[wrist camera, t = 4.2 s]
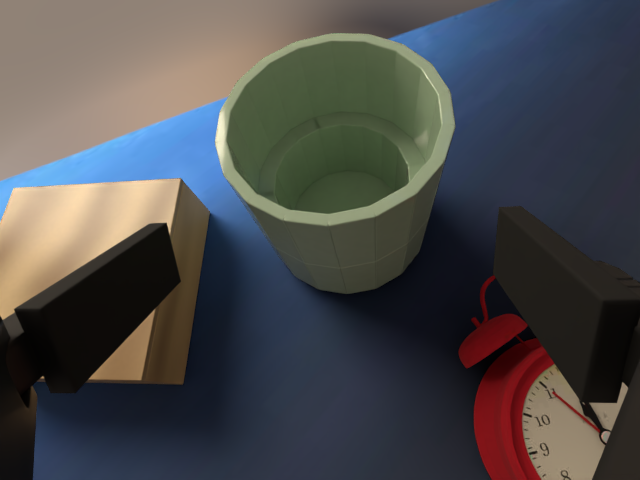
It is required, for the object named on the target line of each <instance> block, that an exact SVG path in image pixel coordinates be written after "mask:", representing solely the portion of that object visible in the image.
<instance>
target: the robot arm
mask: <svg viewBox="0 0 640 480" xmlns="http://www.w3.org/2000/svg"><path fill="white" fill-rule="evenodd" d="M493 275H494V276H495V278H496V279H497V281H498V282H499V284H500V285H501V286H502V288H503V289H504V291H505V292H506V294H507V295H508V297H509V298H510V300H511V301H512V302H513V304H514V305H515V307H516V308H517V310H518V311H519V313H520V314H521V316H522V317H523V318H524V320H525V321H526V323H527V324H528V326H529V327H530V329H531V330H532V332H533V333H534V334H535V336H536V337H537V339H538V340H539V342H540V343H541V345H542V346H543V348H544V349H545V350H546V352H547V353H548V355H549V356H550V358H551V359H552V361H553V362H554V364H555V365H556V366H557V368H558V369H559V371H560V372H561V374H562V375H563V377H564V378H565V380H566V381H567V382H568V384H569V385H570V387H571V388H572V390H573V391H574V393H575V394H576V396H577V397H578V398H579V400H580V401H581V403H617V401H618V398H619V394H620V390H621V386H622V382H623V383H624V384H625V385H626V386H627V387H628V390H627V393H626V395H625V398H624V400H623V403H622V405H621V408H620V410H619V413H618V415H617V418H616V420H615V423H614V425H613V428H612V430H611V433H610V435H609V438H608V440H607V443H606V445H605V448H604V450H603V453H602V455H601V458H600V460H599V463H598V465H597V468H596V470H595V473H594V475H593V478H592V480H640V283H639V282H638V281H636V280H633V278H632V277H631V276H629V275H628V274H626V273H625V272H624V271H622V270H621V269H619V268H617V267H614V266H612V265H609V264H607V263H604V262H602V261H593V260H591V259H590V258H589V257H587V256H586V255H585V254H583V253H582V252H581V251H579V250H578V249H577V248H575V247H574V246H573V245H571V244H570V243H569V242H568V241H566V240H565V239H564V238H562V237H561V236H560V235H558V234H557V233H556V232H554V231H553V230H552V229H550V228H549V227H548V226H546V225H545V224H544V223H543V222H541V221H540V220H539V219H537V218H536V217H535V216H533V215H532V214H531V213H529V212H528V211H527V210H525V209H524V208H523V207H521V206H515V207H499V214H498V225H497V235H496V246H495V257H494V268H493ZM180 282H181V279H180V275H179V271H178V267H177V263H176V259H175V255H174V251H173V247H172V243H171V238H170V234H169V230H168V226H167V223H149V224H148V225H146V226H145V227H143V228H141V229H140V230H138V231H137V232H135V233H134V234H132V235H130V236H129V237H127V238H126V239H124V240H122V241H121V242H119V243H118V244H116V245H115V246H113V247H111V248H110V249H108V250H107V251H105V252H103V253H102V254H100V255H99V256H97V257H96V258H94V259H92V260H91V261H89V262H88V263H86V264H84V265H83V266H81V267H80V268H78V269H76V270H75V271H73V272H72V273H70V274H69V275H67V276H65V277H64V278H62V279H61V280H59V281H57V282H56V283H54V284H53V285H51V286H50V287H48V288H46V289H45V290H43V291H42V292H40V293H38V294H37V295H35V296H34V297H32V298H31V299H29V300H27V301H26V302H24V303H23V304H21V305H19V306H18V307H16V308H15V309H14V311H15V312H14V313H13V314H11V315H10V316H8V317H7V318H5V319H3V320H2V318H1V316H0V480H33V465H34V447H35V429H36V411H37V395H36V392H35V390H34V388H33V386H32V385H33V384H34V383H36V382H37V381H38V380H39V379H40V378H41V377H42V376H43V377H44V379H45V381H46V384H47V386H48V388H49V390H50V393H76V392H77V391H78V390H79V389H80V388H81V387H82V386H83V384H84V383H85V382H86V381H87V380H88V379H89V378H90V377H91V376H92V375H93V374H94V373H95V372H96V371H97V370H98V369H99V368H100V367H101V365H102V364H103V363H104V362H105V361H106V360H107V359H108V358H109V357H110V356H111V355H112V354H113V353H114V352H115V351H116V350H117V349H118V348H119V346H120V345H121V344H122V343H123V342H124V341H125V340H126V339H127V338H128V337H129V336H130V335H131V334H132V333H133V332H134V331H135V330H136V329H137V327H138V326H139V325H140V324H141V323H142V322H143V321H144V320H145V319H146V318H147V317H148V316H149V315H150V314H151V313H152V312H153V311H154V310H155V308H156V307H157V306H158V305H159V304H160V303H161V302H162V301H163V300H164V299H165V298H166V297H167V296H168V295H169V294H170V293H171V292H172V291H173V289H174V288H175V287H176V286H177V285H178V284H179V283H180Z"/></svg>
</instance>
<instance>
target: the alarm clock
mask: <svg viewBox="0 0 640 480" xmlns="http://www.w3.org/2000/svg"><path fill="white" fill-rule="evenodd" d="M495 279H496V278H495V276H494V275H493V276H491V277H490V278H489V279H488V280H486V281H485V283H484V284H483V286H482V288H481V291H480V302H481V307H482V311H483V314H484V321H483V322H482V324H480V323H479V321H478V320H477V319H476V318H475V317H474V318H472V319H471V321H472V322H473V323H474V325H475V326H476V327H477V329H476V330H474V331H473V332H472V333H471V334H470V335H469V336H468V337H467V338H466V339H465V340H464V341H463V342H462V344H461V346H460V347H459V352H458V353H459V358H460V360H461V362H462V364H463V365H464V366H465V367H466V369H467V368H469V367H471V366H473V365H474V364H476V363H478V362H479V361H481V360H482V359H484V358H485V357H487V356H488V355H490V354H491V353H492V352H494V351H495V350H497V349H498V348H500V347H501V346H502V345H504V344H505V343H507V342H508V341H509V340H511V339H512V338H513V337H515V336H516V337H517V338H518V339H519V341H520V342H521V343H519V344H517V345H514V346H513V347H511V348H510V349H508V350H507V351H505V352H504V353H503V354H501V355H500V356H499V357H498V358H497V359H496V360H495V361H494V362H493V363H492V364H491V366H490V367H489V368H488V370H487V371H486V373H485V374H484V376H483V378H482V380H481V382H480V385H479V388H478V391H477V394H476V399H475V405H474V431H475V437H476V442H477V446H478V449H479V453H480V456H481V458H482V461H483V463H484V466H485V468H486V470H487V472H488V474H489V476H490V478H491V479H492V480H592V478H593V475H594V473H595V470H596V468H597V465H598V463H599V460H600V458H601V455H602V453H603V450H604V448H605V445H606V443H607V440H608V438H609V435H610V433H611V430H612V428H613V425H614V423H615V420H616V418H617V415H618V413H619V410H620V408H621V405H622V403H623V400H624V398H625V395H626V393H627V390H628V387H627V386H626V385H625V384H624V383H623V382H622V386H621V390H620V394H619V398H618V401H617V403H581V401H580V400H579V398H578V397H577V396H576V394H575V393H574V391H573V390H572V388H571V387H570V385H569V384H568V382H567V381H566V380H565V378H564V377H563V375H562V374H561V372H560V371H559V369H558V368H557V366H556V365H555V364H554V362H553V361H552V359H551V358H550V356H549V355H548V353H547V352H546V350H545V349H544V348H543V346H542V345H541V343H540V342H539V340H538V339H537V338H535V339H531V340H528V341H525V342H523V341H522V340H521V338H520V337H519V336H518V335H517V334H519V333H520V332H521V331H523V330H524V329H525V328H526V327H527V326H528V325H527V323H526V322H525V321H524V320H522V319H521V318H520V317H519V316H517V315H514V314H504V315H500V316H498V317H495V318H493V319H491V320H489V321H488V313H487V309H486V304H485V297H484V296H485V290H486V288H487V286H488V285H489V284H490V282H492V281H493V280H495Z"/></svg>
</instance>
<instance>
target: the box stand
mask: <svg viewBox="0 0 640 480" xmlns="http://www.w3.org/2000/svg"><path fill="white" fill-rule="evenodd" d="M209 215H210V211H209V210H208V209H207V208H206V207H205V205H204V204H203V203H202V202H201V201H200V200H199V199H198V197H197V196H196V195H195V194H194V193H193V192H192V191H191V189H190V188H189V187H188V186H187V185H186V184H185V183H184V182H183V180H182V179H181V178H175V179H158V180H141V181H124V182H107V183H90V184H73V185H56V186H39V187H22V188H14V189H13V191H12V194H11V196H10V199H9V202H8V204H7V207H6V209H5V212H4V214H3V217H2V219H1V222H0V316H1V318H2V320H3V319H5V318H7V317H8V316H10V315H11V314H13V313H14V312H15V311H14V309H15V308H16V307H18V306H19V305H21V304H23V303H24V302H26V301H27V300H29V299H31V298H32V297H34V296H35V295H37V294H38V293H40V292H42V291H43V290H45V289H46V288H48V287H50V286H51V285H53V284H54V283H56V282H57V281H59V280H61V279H62V278H64V277H65V276H67V275H69V274H70V273H72V272H73V271H75V270H76V269H78V268H80V267H81V266H83V265H84V264H86V263H88V262H89V261H91V260H92V259H94V258H96V257H97V256H99V255H100V254H102V253H103V252H105V251H107V250H108V249H110V248H111V247H113V246H115V245H116V244H118V243H119V242H121V241H122V240H124V239H126V238H127V237H129V236H130V235H132V234H134V233H135V232H137V231H138V230H140V229H141V228H143V227H145V226H146V225H148V224H149V223H167V226H168V230H169V234H170V238H171V243H172V247H173V251H174V255H175V259H176V263H177V267H178V271H179V275H180V279H181V282H180V283H179V284H178V285H177V286H176V287H175V288H174V289H173V291H172V292H171V293H170V294H169V295H168V296H167V297H166V298H165V299H164V300H163V301H162V302H161V303H160V304H159V305H158V306H157V307H156V308H155V310H154V311H153V312H152V313H151V314H150V315H149V316H148V317H147V318H146V319H145V320H144V321H143V322H142V323H141V324H140V325H139V326H138V327H137V329H136V330H135V331H134V332H133V333H132V334H131V335H130V336H129V337H128V338H127V339H126V340H125V341H124V342H123V343H122V344H121V345H120V346H119V348H118V349H117V350H116V351H115V352H114V353H113V354H112V355H111V356H110V357H109V358H108V359H107V360H106V361H105V362H104V363H103V364H102V365H101V367H100V368H99V369H98V370H97V371H96V372H95V373H94V374H93V375H92V376H91V377H90V378H89V379H88V380H87V381H86V382H85V383H127V384H178V385H182V384H183V383H184V377H185V370H186V364H187V357H188V351H189V344H190V338H191V331H192V325H193V318H194V312H195V306H196V299H197V293H198V286H199V280H200V273H201V267H202V260H203V254H204V247H205V241H206V234H207V228H208V221H209ZM37 382H46V381H45V379H44V377H43V376H42V377H41V378H40V379H39V380H38V381H37Z"/></svg>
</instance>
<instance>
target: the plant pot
mask: <svg viewBox="0 0 640 480" xmlns="http://www.w3.org/2000/svg"><path fill="white" fill-rule="evenodd" d="M454 130H455V119H454V112H453V105H452V99H451V93H450V90H449V89H448V87H447V86H446V84H445V83H444V81H443V80H442V78H441V77H440V75H439V74H438V72H437V71H436V69H435V68H434V66H433V65H432V64H431V63H430V62H428V61H427V60H425V59H424V58H423V57H421V56H420V55H418V54H417V53H415V52H414V51H412V50H411V49H409V48H408V47H406V46H405V45H402V44H401V43H397V42H394V41H391V40H387V39H384V38H380V37H377V36H374V35H368V34H340V33H339V34H338V33H333V34H327V35H323V36H318V37H314V38H309V39H305V40H301V41H297V42H294V43H292V44H290V45H288V46H286V47H284V48H282V49H280V50H279V51H276V52H274V53H272V54H271V55H268V56H267V57H265V58H264V59H261V60H260V61H259V62H258V63H257V64H256V65H255V66H254V67H253V68H252V69H251V70H249V71H248V72H247V73H246V74H245V75H244V76H243V77H242V78H241V79H239V80H238V81H237V83H236V85H235V86H234V88H233V90H232V91H231V93H230V95H229V96H228V98H227V100H226V102H225V103H224V105H223V107H222V109H221V111H220V114H219V120H218V126H217V132H216V139H215V146H216V150H217V153H218V157H219V161H220V164H221V168H222V172H223V175H224V177H225V178H226V180H227V181H228V183H229V184H230V186H231V187H232V189H233V190H234V192H235V193H236V195H237V196H238V198H239V199H240V201H241V202H242V203H243V205H244V206H245V208H246V209H247V211H248V212H249V214H250V215H251V217H252V218H253V220H254V221H255V223H256V224H257V226H258V227H259V229H260V230H261V232H262V233H263V235H264V236H265V237H266V239H267V240H268V242H269V243H270V245H271V246H272V248H273V249H274V251H275V252H276V254H277V255H278V257H279V258H280V259H281V260H282V262H283V263H284V264H285V265H286V267H287V268H288V269H289V270H290V271H291V273H292V274H293V275H294V276H295V277H297V278H298V279H300V280H302V281H304V282H306V283H307V284H309V285H311V286H313V287H315V288H316V289H319V290H324V291H330V292H337V293H343V294H351V293H356V292H361V291H367V290H372V289H376V288H378V287H380V286H382V285H384V284H385V283H387V282H389V281H390V280H392V279H394V278H396V277H397V276H399V275H401V274H402V273H403V272H404V270H405V269H406V268H407V267H408V266H409V264H410V263H411V262H412V261H413V259H414V258H415V257H416V256H417V255H418V253H419V251H420V248H421V245H422V242H423V239H424V236H425V232H426V229H427V226H428V222H429V219H430V215H431V212H432V208H433V205H434V201H435V197H436V194H437V190H438V187H439V183H440V180H441V176H442V173H443V169H444V166H445V162H446V159H447V155H448V152H449V148H450V145H451V141H452V137H453V134H454Z"/></svg>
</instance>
